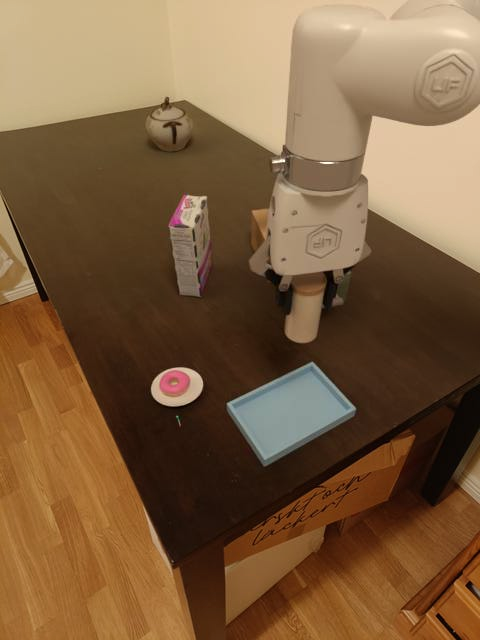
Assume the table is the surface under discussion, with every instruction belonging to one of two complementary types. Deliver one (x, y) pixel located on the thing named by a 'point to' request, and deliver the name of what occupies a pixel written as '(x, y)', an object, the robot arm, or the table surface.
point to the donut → (177, 387)
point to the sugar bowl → (169, 127)
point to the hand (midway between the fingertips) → (304, 303)
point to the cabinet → (259, 229)
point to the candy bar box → (191, 245)
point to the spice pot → (305, 306)
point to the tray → (289, 412)
